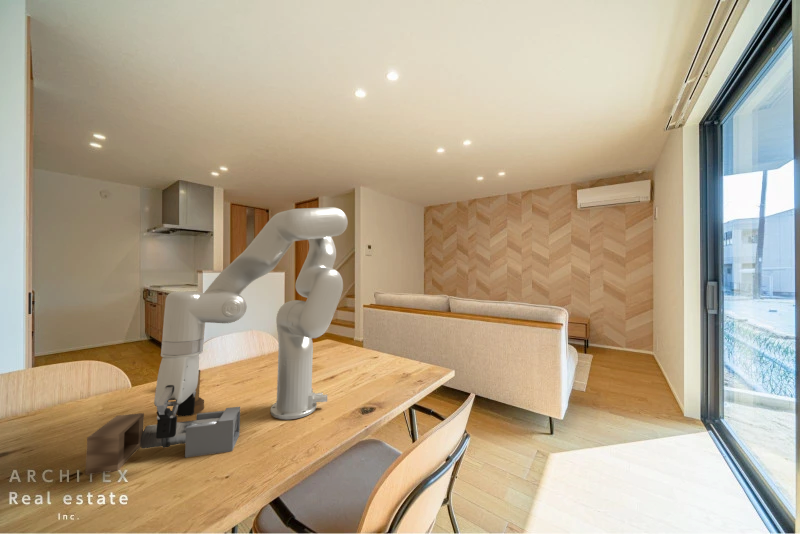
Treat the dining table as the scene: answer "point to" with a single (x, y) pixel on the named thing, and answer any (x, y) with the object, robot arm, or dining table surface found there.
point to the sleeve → (213, 433)
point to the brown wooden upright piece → (197, 399)
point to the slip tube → (180, 438)
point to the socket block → (114, 443)
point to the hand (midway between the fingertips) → (176, 425)
